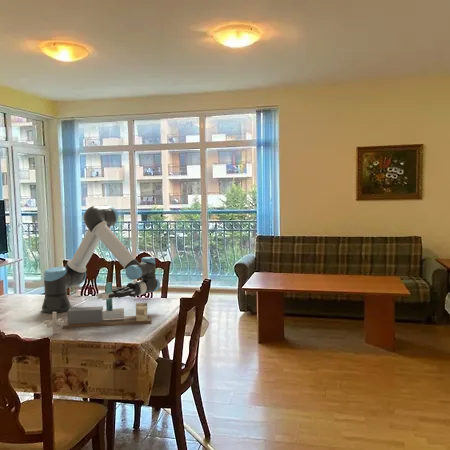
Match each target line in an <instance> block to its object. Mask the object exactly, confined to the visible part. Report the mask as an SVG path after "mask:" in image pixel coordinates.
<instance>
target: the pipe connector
mask: <svg viewBox="0 0 450 450" xmlns="http://www.w3.org/2000/svg"><path fill="white" fill-rule="evenodd" d="M51 314H52V320H44V321H43V325H46V328H47V329H49V328H52V335H58V326H63V325H65V324H66V320H65V321H64V320H63V318H62V317H61V318H58V319H57V312H52V313H51Z"/></svg>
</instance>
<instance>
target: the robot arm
mask: <svg viewBox="0 0 450 450" xmlns="http://www.w3.org/2000/svg"><path fill="white" fill-rule="evenodd" d="M118 221H119V215H118V211H117V210H116V208H114V206H111V205H93V206H90V207H89V208H87V209H86V210H85V212H84V214H83V222H84V224H85V226H86V228H87V231H86V232H85V234H84V236H83V238H82V240H81V242H80V243H79V246H78V248H77V249H76V251H75V253H74V255H73V257H72V258H71V259H70V260H67V262H66V264H65V266H55V267H48V268H47V269H46V270H45V271H44V273H43V274H44V275H43V284H44V287H43V288H44V299H43V302H42V306H41V312H42V313H45V314H52V312H57V313H58V314H59V313H64V312H68V310H69V309H70V308H72V307H71V306H72V305H71V302H70V299H69V296H68V289H69V288H72V287H77V286H79V285H81V284H82V283H84V281H86V277H87V267H86V266H87V264H88V263H89V262H90V259H91V258H92V256H93V254H94V253H95V250H96V248H97V246H98V245H99V242H100V241H101V243H102V244H103V245H104V246H105V248H107V250H108V251H109V252H110V253H111V254H112V255H113V257H114V258H115V260H117V261H118V262H119V264H120V265H121V266H122V267H123V268H124V269H125V275H126V277H127V279H129V280H132V282H129V283H127V284H126V286H123V287H119V286H117V287H115V288H112V292H111V293H107V294H106V290H105V291H103V292H99V293H97V295H96V298H97V299H96V300H101V299H102V301H106V300H107V299H111V298H112V299H114V298H115V299H116V298H118V299H120V298H125V297H130V298H132V297H133V298H134V297H137V296H139V297H141V295H145V294H150V293H153V292H156V291H158V290H160V287H161V282H160V280H159V278H157V277H156V273H157V272H156V265H157V264H156V257H153V256H145V257H142V258H140V259H141V262H139V261H138V260H137V259H136V258H135V256H134V255H133V254H132V253H131V252H130V250H129V249H128V248H127V247H126V246H125V244H123V242H122V241H121V240H120V239H119V237H118V236H116V234H115V233H114V232H113V231H112V230H111V228H112V226H114V225H116V224H117V222H118ZM140 278H141V280H139V279H140ZM133 280H134V281H133ZM135 280H136V281H135Z"/></svg>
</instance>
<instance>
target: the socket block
mask: <svg viewBox="0 0 450 450" xmlns="http://www.w3.org/2000/svg"><path fill="white" fill-rule="evenodd" d="M147 315H148V303H147V302H141V303H136V304H135V316H136V321H147Z"/></svg>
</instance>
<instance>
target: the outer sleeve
mask: <svg viewBox="0 0 450 450" xmlns="http://www.w3.org/2000/svg"><path fill="white" fill-rule="evenodd" d="M102 309H104V306H84V307H83V306H80V307H71V308H70V309H69V310H68V311H67V319H68V324H80V323H99V322H102V321H103V319H102Z"/></svg>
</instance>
